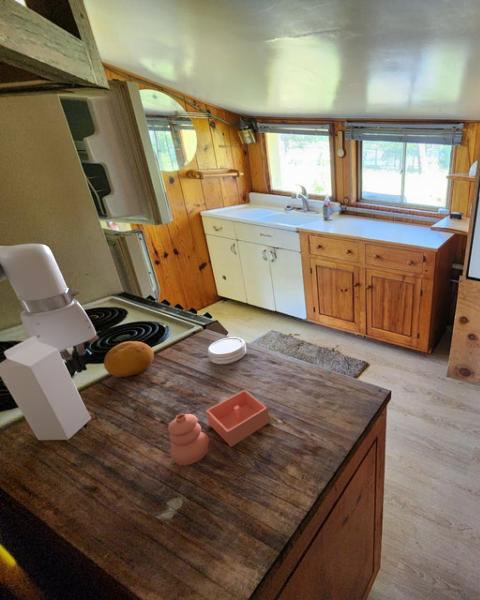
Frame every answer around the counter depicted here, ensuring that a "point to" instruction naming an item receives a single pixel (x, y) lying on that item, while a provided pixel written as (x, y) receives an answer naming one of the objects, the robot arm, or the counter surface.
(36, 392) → the milk
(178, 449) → the pottery
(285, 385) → the counter surface
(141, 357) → the fruit
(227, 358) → the white round flat stack
